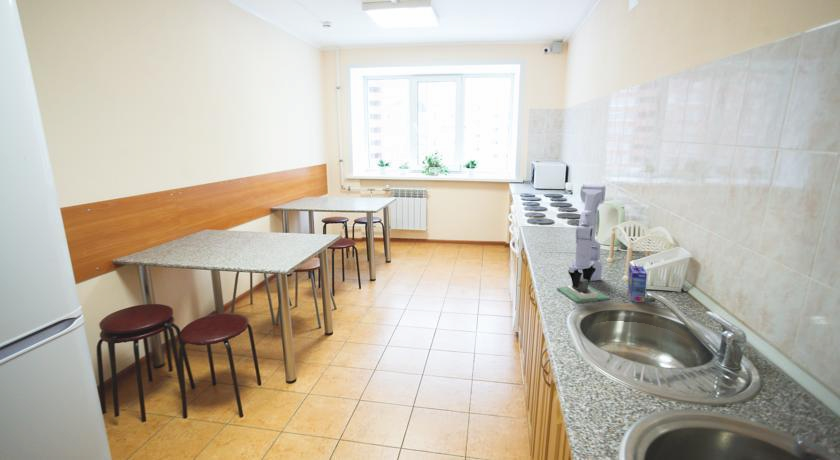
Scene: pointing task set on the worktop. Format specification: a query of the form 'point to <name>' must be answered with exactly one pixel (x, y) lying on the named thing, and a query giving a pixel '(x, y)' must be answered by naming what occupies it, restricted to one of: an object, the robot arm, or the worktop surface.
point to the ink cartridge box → (637, 283)
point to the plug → (582, 286)
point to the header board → (581, 297)
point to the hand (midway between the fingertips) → (580, 285)
